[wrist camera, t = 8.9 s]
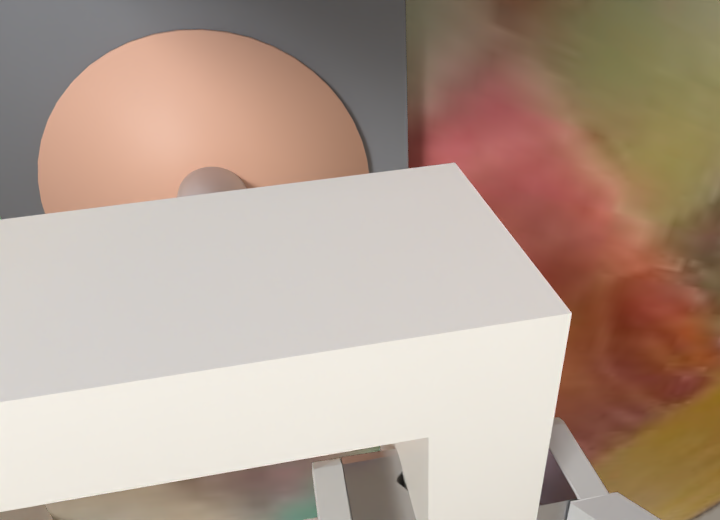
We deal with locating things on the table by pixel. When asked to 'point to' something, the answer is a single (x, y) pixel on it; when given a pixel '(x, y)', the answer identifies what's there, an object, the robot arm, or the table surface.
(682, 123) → the table surface
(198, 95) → the rod stand
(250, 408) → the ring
